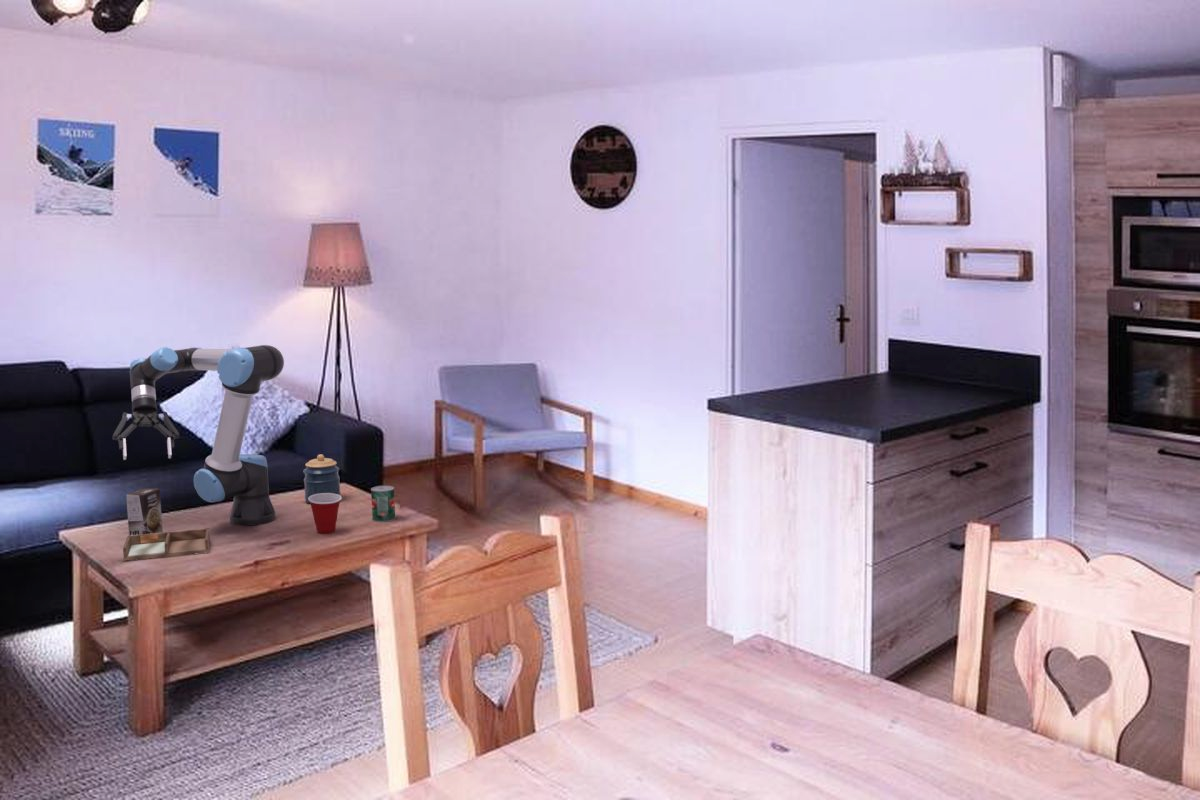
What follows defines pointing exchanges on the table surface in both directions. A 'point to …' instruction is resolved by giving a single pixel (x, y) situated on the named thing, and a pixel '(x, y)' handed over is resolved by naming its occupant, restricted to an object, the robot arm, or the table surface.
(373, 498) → the canned tomato
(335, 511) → the plastic cup
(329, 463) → the canister
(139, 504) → the coffee box
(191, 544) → the tray
